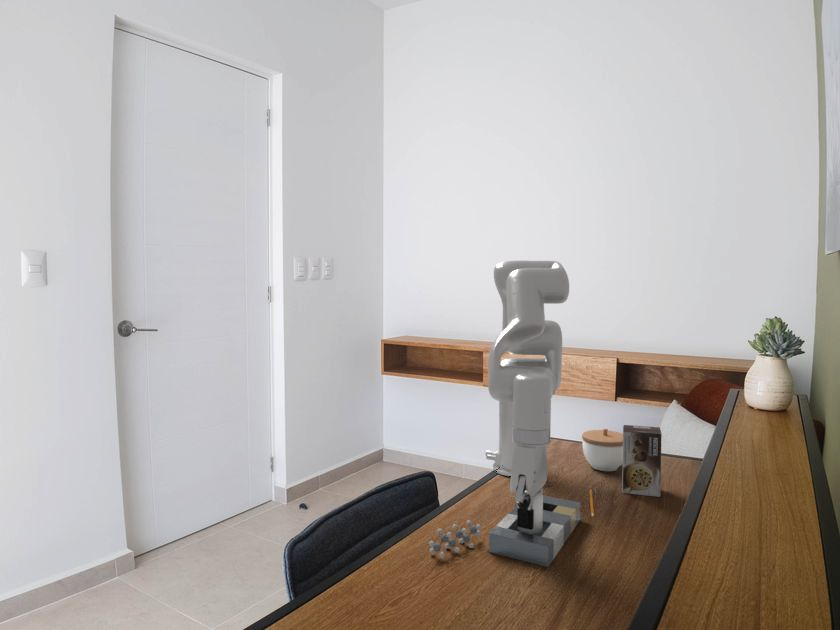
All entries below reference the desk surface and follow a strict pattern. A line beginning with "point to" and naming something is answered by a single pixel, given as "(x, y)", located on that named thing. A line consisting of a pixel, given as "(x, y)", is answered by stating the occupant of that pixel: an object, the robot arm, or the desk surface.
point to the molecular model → (452, 541)
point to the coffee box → (641, 460)
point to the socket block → (541, 546)
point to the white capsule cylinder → (535, 514)
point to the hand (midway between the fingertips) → (529, 521)
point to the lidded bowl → (603, 449)
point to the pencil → (591, 501)
